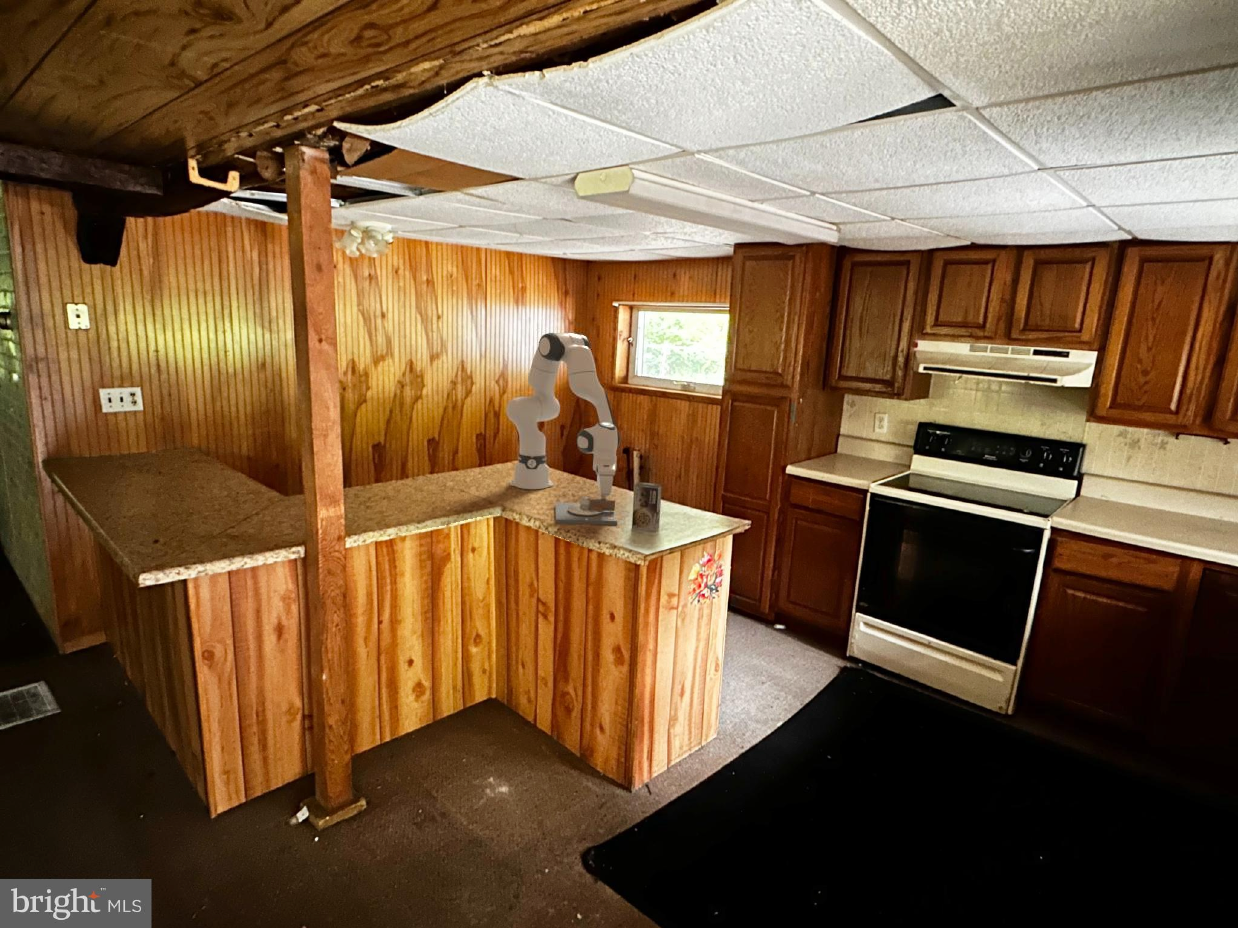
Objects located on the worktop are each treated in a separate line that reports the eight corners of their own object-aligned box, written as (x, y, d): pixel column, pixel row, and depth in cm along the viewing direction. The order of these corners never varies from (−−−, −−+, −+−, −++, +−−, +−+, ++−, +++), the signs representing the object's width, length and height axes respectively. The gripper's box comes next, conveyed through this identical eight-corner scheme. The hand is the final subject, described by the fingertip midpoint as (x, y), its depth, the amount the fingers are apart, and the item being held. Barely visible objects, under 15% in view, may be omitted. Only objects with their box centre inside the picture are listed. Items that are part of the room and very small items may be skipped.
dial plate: (555, 506, 256) (555, 502, 255) (611, 507, 258) (611, 503, 258) (555, 523, 234) (556, 519, 234) (617, 525, 237) (617, 520, 236)
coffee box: (659, 527, 237) (662, 484, 234) (655, 532, 231) (659, 488, 228) (635, 524, 239) (638, 481, 236) (630, 529, 233) (633, 485, 230)
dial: (568, 515, 239) (568, 502, 238) (567, 505, 252) (567, 493, 250) (615, 516, 241) (616, 503, 240) (612, 506, 254) (613, 494, 252)
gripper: (594, 459, 259) (592, 493, 262) (598, 471, 239) (596, 507, 242) (610, 460, 260) (608, 493, 262) (615, 471, 240) (613, 508, 243)
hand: (602, 500), depth 252 cm, fingers closed
